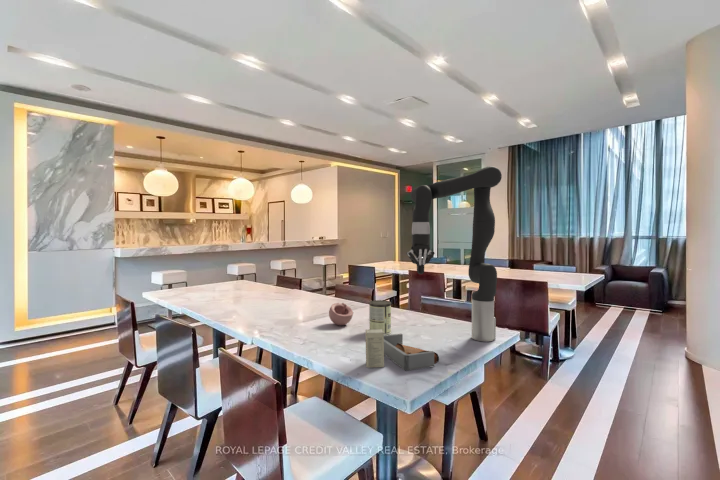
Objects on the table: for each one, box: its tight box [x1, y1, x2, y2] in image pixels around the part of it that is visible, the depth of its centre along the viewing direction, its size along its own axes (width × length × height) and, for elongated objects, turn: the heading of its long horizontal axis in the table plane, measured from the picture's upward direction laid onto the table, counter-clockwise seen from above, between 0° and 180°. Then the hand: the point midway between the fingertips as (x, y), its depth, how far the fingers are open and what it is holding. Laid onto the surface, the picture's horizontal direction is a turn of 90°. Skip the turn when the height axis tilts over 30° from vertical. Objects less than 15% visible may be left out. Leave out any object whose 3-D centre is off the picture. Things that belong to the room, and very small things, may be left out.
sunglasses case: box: [395, 343, 440, 365], centre depth 130 cm, size 18×7×7 cm
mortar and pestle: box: [328, 302, 354, 326], centre depth 177 cm, size 12×12×12 cm
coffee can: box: [368, 299, 392, 335], centre depth 164 cm, size 10×10×14 cm
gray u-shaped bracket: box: [384, 333, 435, 372], centre depth 132 cm, size 11×24×5 cm, turn 21°
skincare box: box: [365, 329, 385, 369], centre depth 123 cm, size 6×4×12 cm
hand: (420, 273), depth 150 cm, fingers closed
